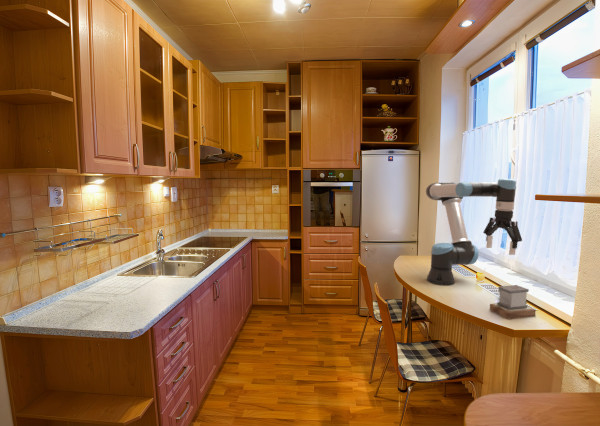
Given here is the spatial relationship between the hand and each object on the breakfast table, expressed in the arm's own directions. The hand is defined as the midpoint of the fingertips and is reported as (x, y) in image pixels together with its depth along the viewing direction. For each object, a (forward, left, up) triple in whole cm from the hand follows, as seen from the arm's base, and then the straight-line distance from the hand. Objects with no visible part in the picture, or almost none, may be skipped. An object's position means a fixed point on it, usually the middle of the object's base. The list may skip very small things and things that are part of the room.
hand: (499, 251), depth 152 cm
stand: (+15, -7, -26) cm, 30 cm away
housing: (+15, -7, -23) cm, 28 cm away
